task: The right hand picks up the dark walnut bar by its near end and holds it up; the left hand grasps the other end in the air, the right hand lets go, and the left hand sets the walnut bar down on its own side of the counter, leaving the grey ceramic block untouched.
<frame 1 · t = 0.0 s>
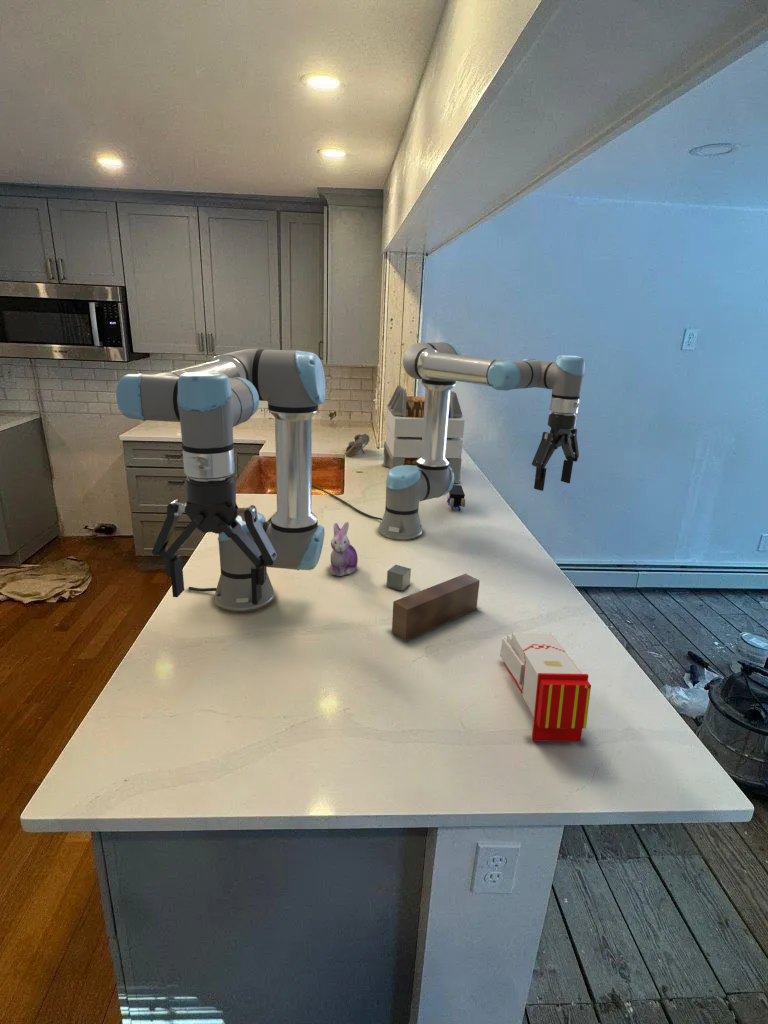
left hand: (217, 597, 95), 28 cm above the counter, fingers open, 13 cm apart
right hand: (552, 485, 166), 28 cm above the counter, fingers open, 13 cm apart
walnut bar: (435, 619, 146), on the counter
grey block: (398, 585, 163), on the counter
figurine: (343, 570, 170), on the counter
grey slatted crate: (419, 473, 275), on the counter
fossil: (357, 453, 307), on the counter
figurine character: (454, 506, 230), on the counter
toy: (535, 695, 118), on the counter
feather: (274, 516, 211), on the counter
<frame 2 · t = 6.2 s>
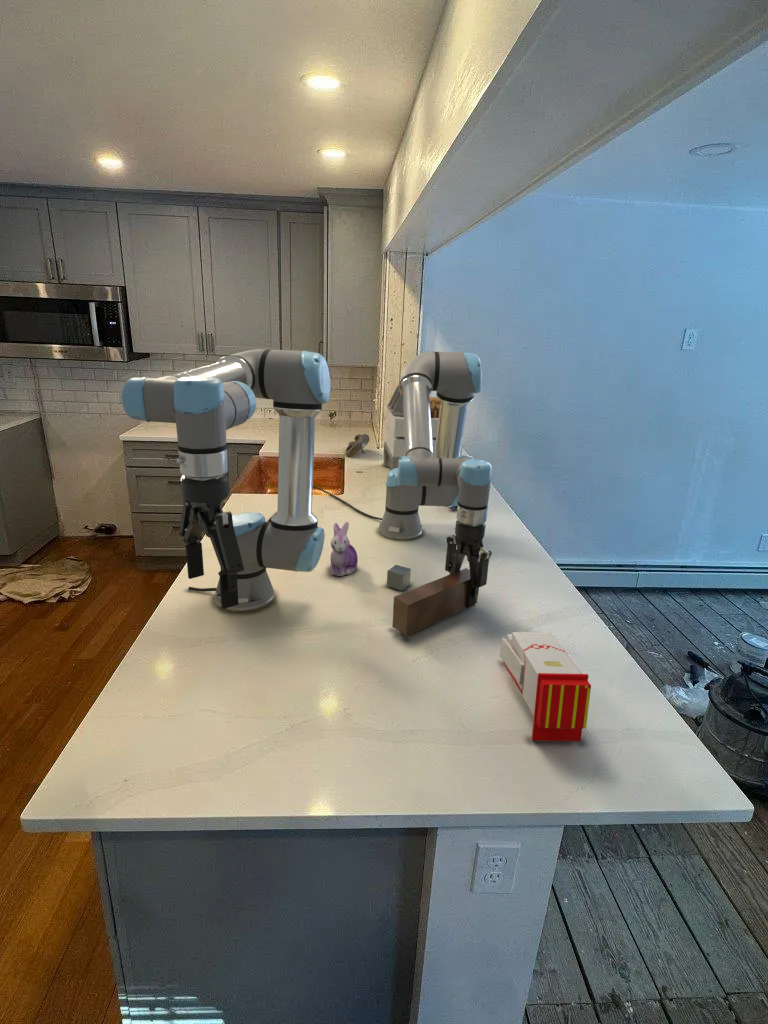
left hand: (212, 590, 100), 27 cm above the counter, fingers open, 13 cm apart
right hand: (462, 601, 152), 2 cm above the counter, fingers closed on walnut bar, 5 cm apart
walnut bar: (436, 614, 146), point 1 cm above the counter, touching right hand
everything else where it was.
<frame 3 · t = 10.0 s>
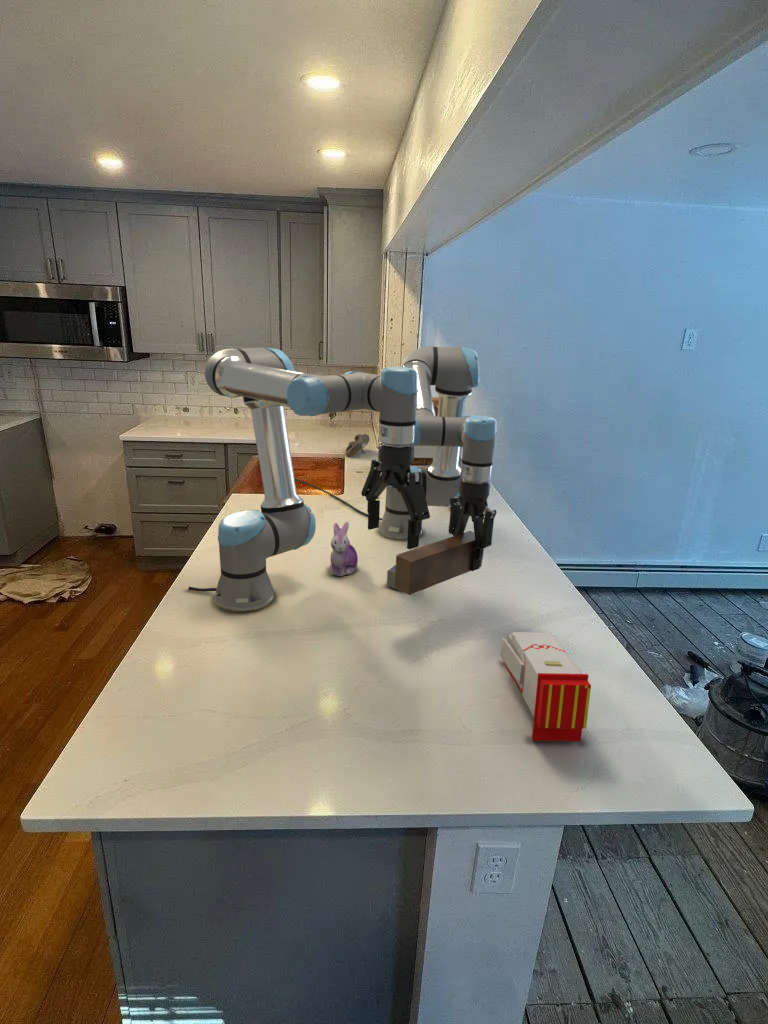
left hand: (392, 537, 126), 27 cm above the counter, fingers open, 13 cm apart
right hand: (466, 565, 148), 13 cm above the counter, fingers closed on walnut bar, 5 cm apart
walnut bar: (440, 576, 142), point 12 cm above the counter, touching right hand
everything else where it was.
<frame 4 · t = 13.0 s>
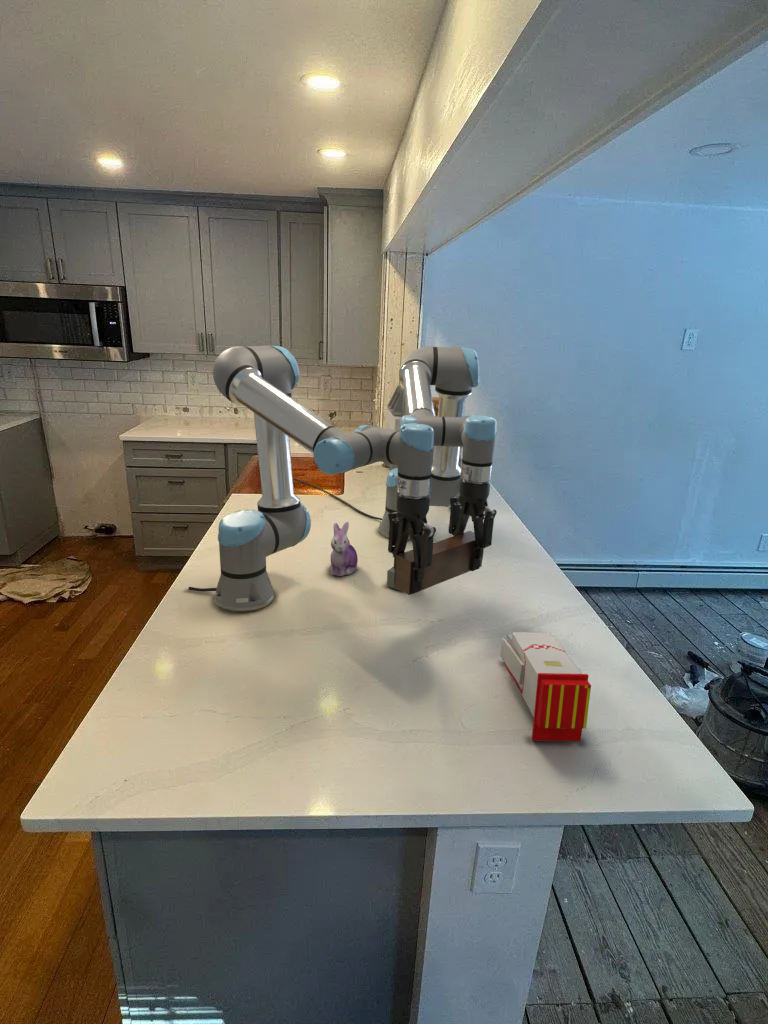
left hand: (407, 587, 134), 13 cm above the counter, fingers closed on walnut bar, 5 cm apart
right hand: (466, 565, 148), 13 cm above the counter, fingers closed on walnut bar, 5 cm apart
walnut bar: (440, 576, 142), point 12 cm above the counter, touching right hand, left hand
everything else where it was.
when the right hand's fingers open (13 cm above the counter, at t = 13.7 s): walnut bar stays where it is, held by the left hand.
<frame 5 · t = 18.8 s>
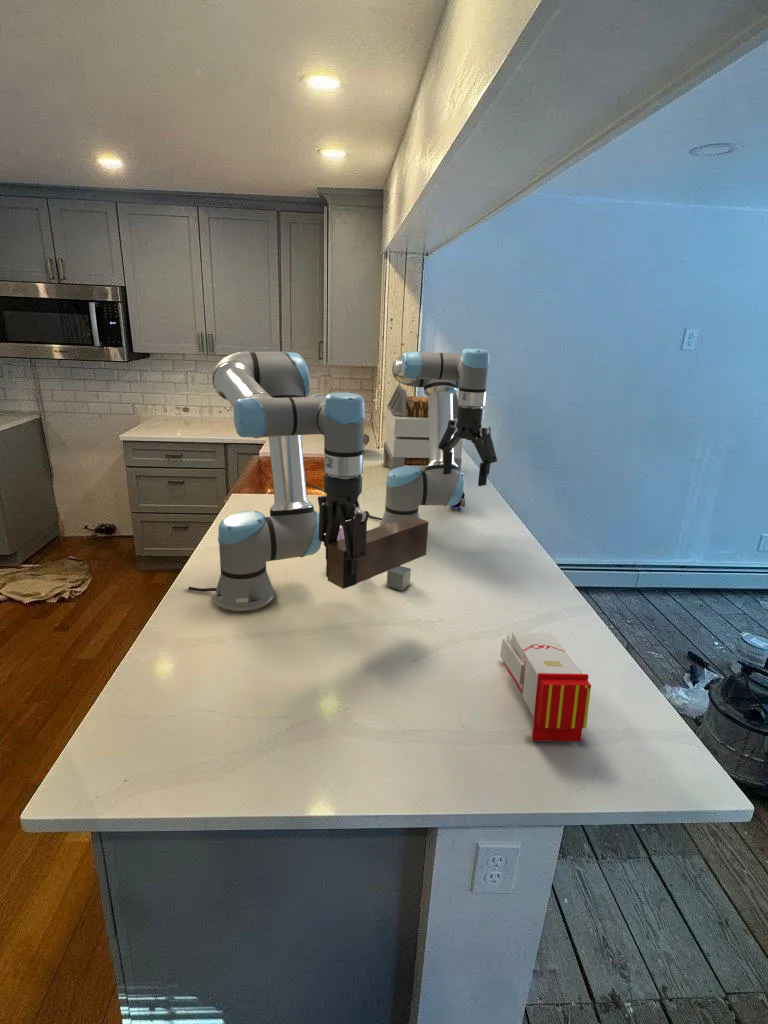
left hand: (341, 580, 119), 21 cm above the counter, fingers closed on walnut bar, 5 cm apart
right hand: (464, 479, 165), 29 cm above the counter, fingers open, 13 cm apart
walnut bar: (379, 567, 127), point 20 cm above the counter, touching left hand
everything else where it was.
when the left hand's fingers open (1 cm above the counter, at t = 24.9 s): walnut bar stays where it is, on the counter.
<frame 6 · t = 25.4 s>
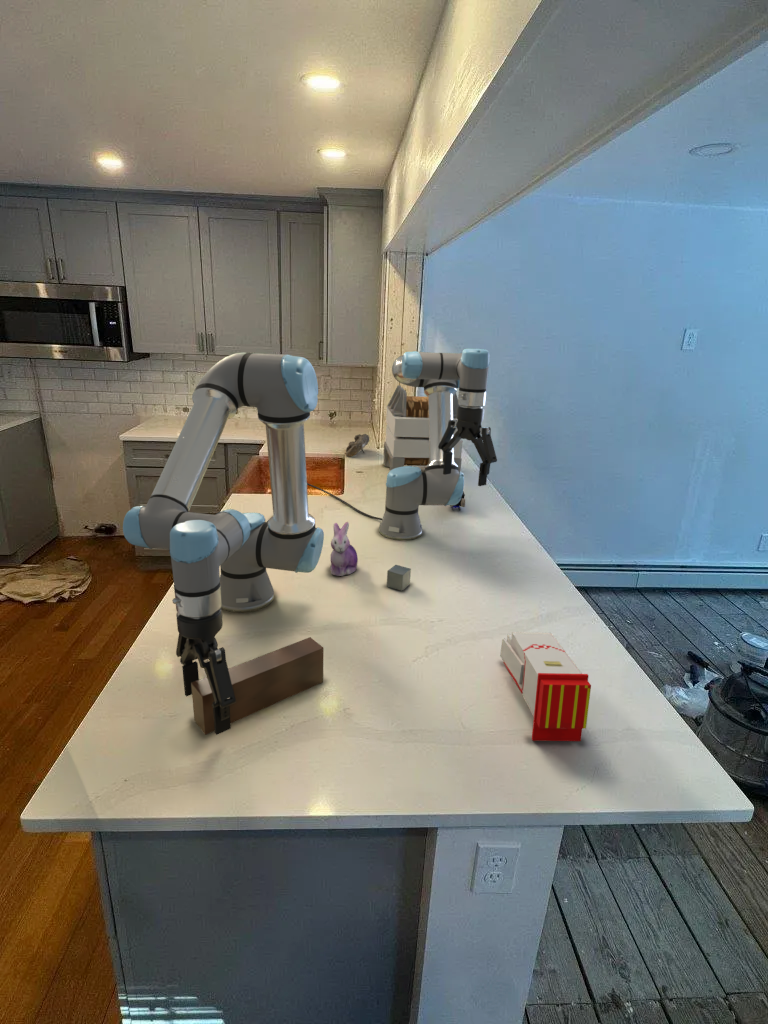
left hand: (206, 711, 105), 3 cm above the counter, fingers open, 12 cm apart
right hand: (464, 479, 165), 29 cm above the counter, fingers open, 13 cm apart
walnut bar: (262, 700, 113), on the counter
everything else where it was.
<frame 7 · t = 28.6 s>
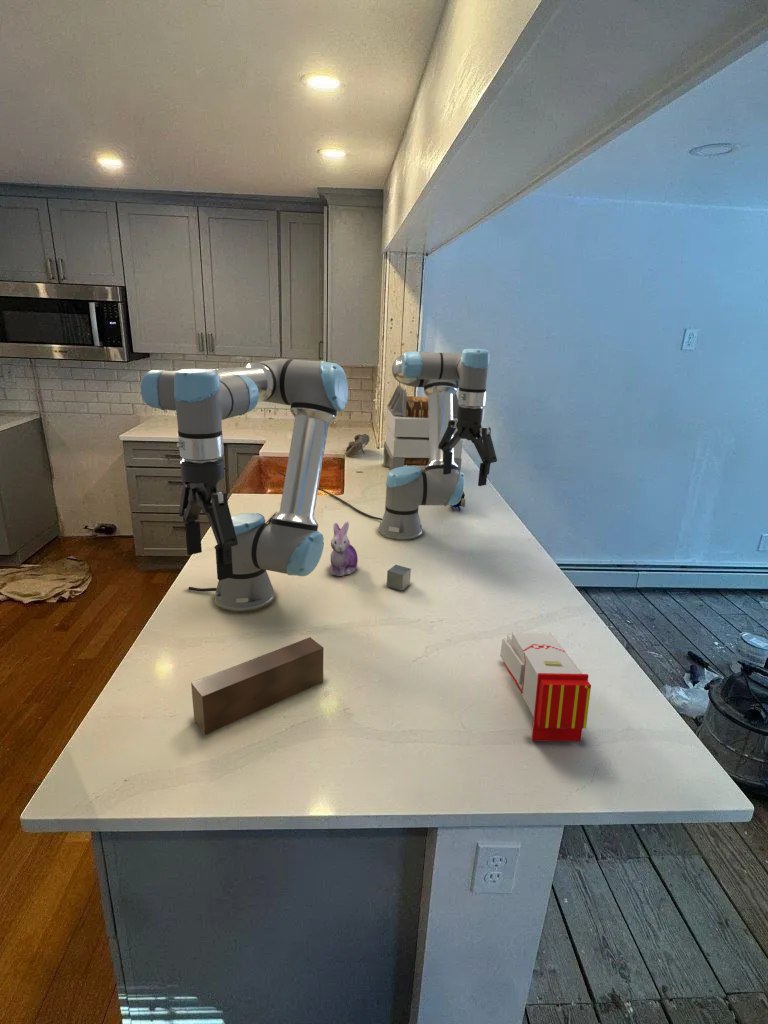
left hand: (209, 565, 109), 27 cm above the counter, fingers open, 13 cm apart
right hand: (464, 479, 165), 29 cm above the counter, fingers open, 13 cm apart
nothing on the counter moved.
at the end: walnut bar inside the target area (1.4 cm from its centre), on the counter; both hands held the walnut bar at the same time; the left hand is holding nothing; the right hand is holding nothing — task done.
